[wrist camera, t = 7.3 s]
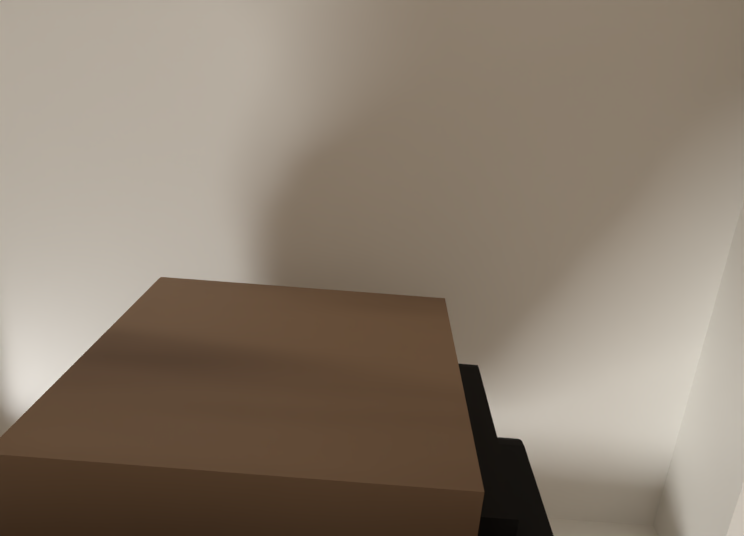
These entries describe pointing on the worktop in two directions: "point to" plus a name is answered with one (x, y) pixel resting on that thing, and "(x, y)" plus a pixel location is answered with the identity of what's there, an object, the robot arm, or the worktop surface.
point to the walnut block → (251, 421)
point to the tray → (412, 206)
